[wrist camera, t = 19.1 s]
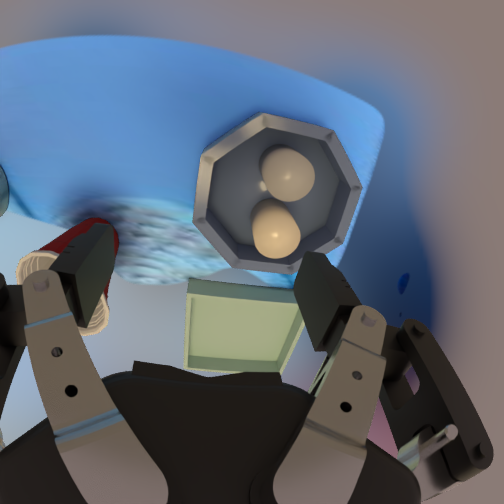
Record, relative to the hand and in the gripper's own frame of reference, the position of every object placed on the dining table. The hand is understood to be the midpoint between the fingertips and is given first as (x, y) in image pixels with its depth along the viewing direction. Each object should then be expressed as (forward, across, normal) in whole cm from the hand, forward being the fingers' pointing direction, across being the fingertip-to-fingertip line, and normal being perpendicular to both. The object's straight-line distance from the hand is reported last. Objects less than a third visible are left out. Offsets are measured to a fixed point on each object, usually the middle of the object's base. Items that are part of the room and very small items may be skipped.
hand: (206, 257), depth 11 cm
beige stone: (+18, -7, +5) cm, 20 cm away
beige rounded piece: (+18, -7, -1) cm, 19 cm away
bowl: (+19, -7, +2) cm, 20 cm away
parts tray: (+19, -7, +23) cm, 31 cm away
